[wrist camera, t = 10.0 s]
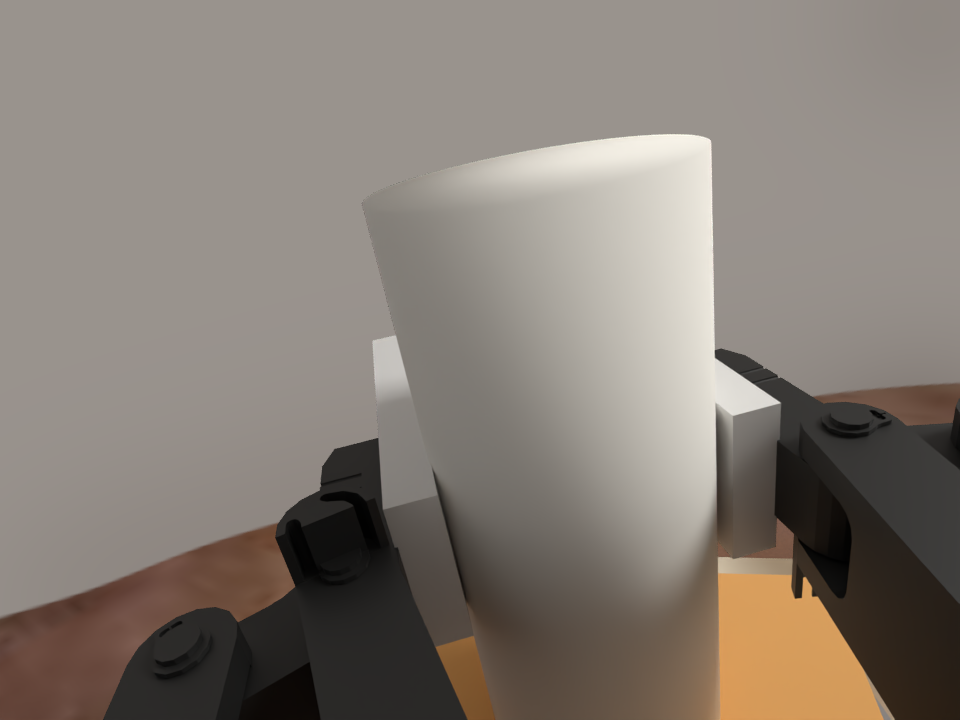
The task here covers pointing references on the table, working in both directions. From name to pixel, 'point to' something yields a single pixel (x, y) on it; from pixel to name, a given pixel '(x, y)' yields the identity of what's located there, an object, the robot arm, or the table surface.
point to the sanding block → (590, 442)
